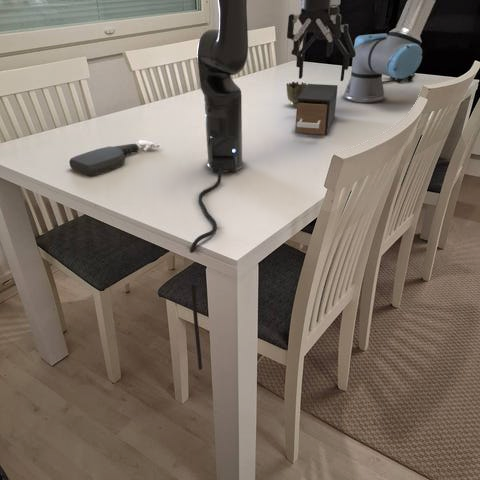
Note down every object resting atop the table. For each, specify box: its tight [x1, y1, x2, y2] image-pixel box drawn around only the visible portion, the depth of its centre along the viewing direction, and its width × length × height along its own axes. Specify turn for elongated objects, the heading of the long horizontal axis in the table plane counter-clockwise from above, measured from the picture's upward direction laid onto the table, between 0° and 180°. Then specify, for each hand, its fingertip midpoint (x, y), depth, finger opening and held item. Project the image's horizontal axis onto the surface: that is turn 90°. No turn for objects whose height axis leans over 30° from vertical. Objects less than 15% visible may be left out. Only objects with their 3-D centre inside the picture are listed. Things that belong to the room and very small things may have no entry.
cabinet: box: [294, 83, 339, 136], centre depth 146 cm, size 20×10×11 cm, turn 163°
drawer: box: [295, 101, 327, 136], centre depth 141 cm, size 24×9×9 cm, turn 163°
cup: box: [286, 81, 308, 108], centre depth 165 cm, size 8×7×8 cm
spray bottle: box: [68, 139, 160, 177], centre depth 124 cm, size 3×11×24 cm
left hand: (312, 55), depth 124 cm, fingers open, 8 cm apart
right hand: (321, 79), depth 147 cm, fingers open, 13 cm apart
